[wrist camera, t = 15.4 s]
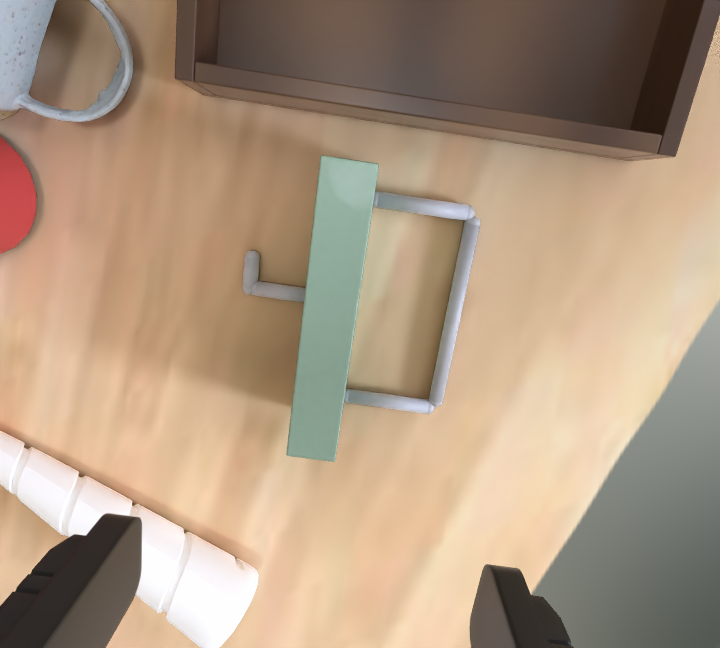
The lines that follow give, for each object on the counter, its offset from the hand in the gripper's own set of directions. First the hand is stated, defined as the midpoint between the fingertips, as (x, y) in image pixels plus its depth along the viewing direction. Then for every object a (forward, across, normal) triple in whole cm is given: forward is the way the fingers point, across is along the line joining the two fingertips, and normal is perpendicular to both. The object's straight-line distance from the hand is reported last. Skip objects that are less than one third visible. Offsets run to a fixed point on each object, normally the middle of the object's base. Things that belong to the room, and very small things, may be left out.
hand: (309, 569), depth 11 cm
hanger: (+16, +1, -2) cm, 17 cm away
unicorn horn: (+16, +14, +12) cm, 25 cm away
